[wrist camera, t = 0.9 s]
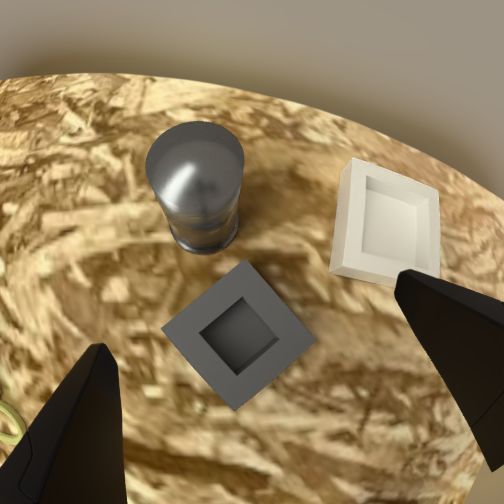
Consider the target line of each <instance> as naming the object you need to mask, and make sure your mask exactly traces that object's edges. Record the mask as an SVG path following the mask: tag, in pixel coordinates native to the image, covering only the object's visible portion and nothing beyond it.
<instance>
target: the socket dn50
mask: <svg viewBox="0 0 504 504" xmlns="http://www.w3.org/2000/svg"><path fill="white" fill-rule="evenodd" d="M406 269H413V270H416V271H419V272H422V273H425V274H427V275H430V276H433V277H436V278H439V276H440V211H439V195H438V190H436V189H434V188H432V187H430V186H427V185H425V184H423V183H420V182H418V181H415V180H413V179H411V178H408V177H406V176H403V175H401V174H398V173H395V172H393V171H390V170H388V169H385V168H382V167H380V166H377V165H374V164H371V163H368V162H366V161H363V160H360V159H357V158H354V157H352V158H351V159H350V161H349V162H348V163H347V165H346V166H345V167H344V169H343V170H342V171H341V173H340V181H339V192H338V202H337V211H336V220H335V228H334V237H333V244H332V252H331V259H330V266H329V272H328V273H331V274H336V275H340V276H344V277H349V278H353V279H358V280H362V281H366V282H371V283H375V284H380V285H384V286H389V287H393V288H395V286H396V281H397V276H398V274H399V272H401V271H403V270H406Z"/></svg>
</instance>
